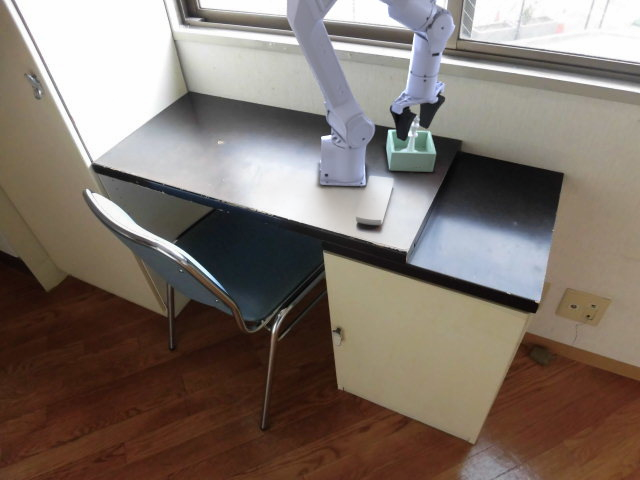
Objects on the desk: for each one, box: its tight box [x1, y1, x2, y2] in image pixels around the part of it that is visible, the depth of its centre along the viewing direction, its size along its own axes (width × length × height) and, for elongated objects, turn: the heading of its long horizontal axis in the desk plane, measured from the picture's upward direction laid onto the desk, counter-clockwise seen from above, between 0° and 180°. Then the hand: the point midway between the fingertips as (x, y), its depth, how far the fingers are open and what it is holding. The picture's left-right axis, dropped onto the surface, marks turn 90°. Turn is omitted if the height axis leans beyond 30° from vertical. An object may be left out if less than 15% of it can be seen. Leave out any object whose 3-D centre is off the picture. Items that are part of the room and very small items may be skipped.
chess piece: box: [401, 115, 420, 152], centre depth 102 cm, size 5×5×10 cm
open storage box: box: [385, 129, 437, 173], centre depth 105 cm, size 9×9×5 cm
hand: (412, 132), depth 102 cm, fingers open, 7 cm apart
